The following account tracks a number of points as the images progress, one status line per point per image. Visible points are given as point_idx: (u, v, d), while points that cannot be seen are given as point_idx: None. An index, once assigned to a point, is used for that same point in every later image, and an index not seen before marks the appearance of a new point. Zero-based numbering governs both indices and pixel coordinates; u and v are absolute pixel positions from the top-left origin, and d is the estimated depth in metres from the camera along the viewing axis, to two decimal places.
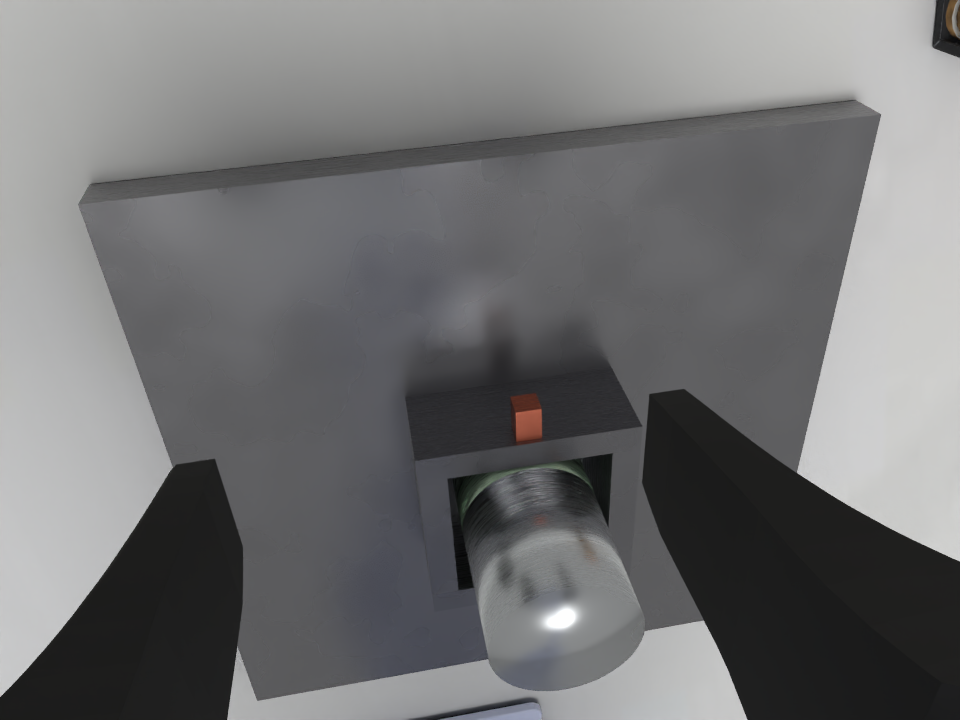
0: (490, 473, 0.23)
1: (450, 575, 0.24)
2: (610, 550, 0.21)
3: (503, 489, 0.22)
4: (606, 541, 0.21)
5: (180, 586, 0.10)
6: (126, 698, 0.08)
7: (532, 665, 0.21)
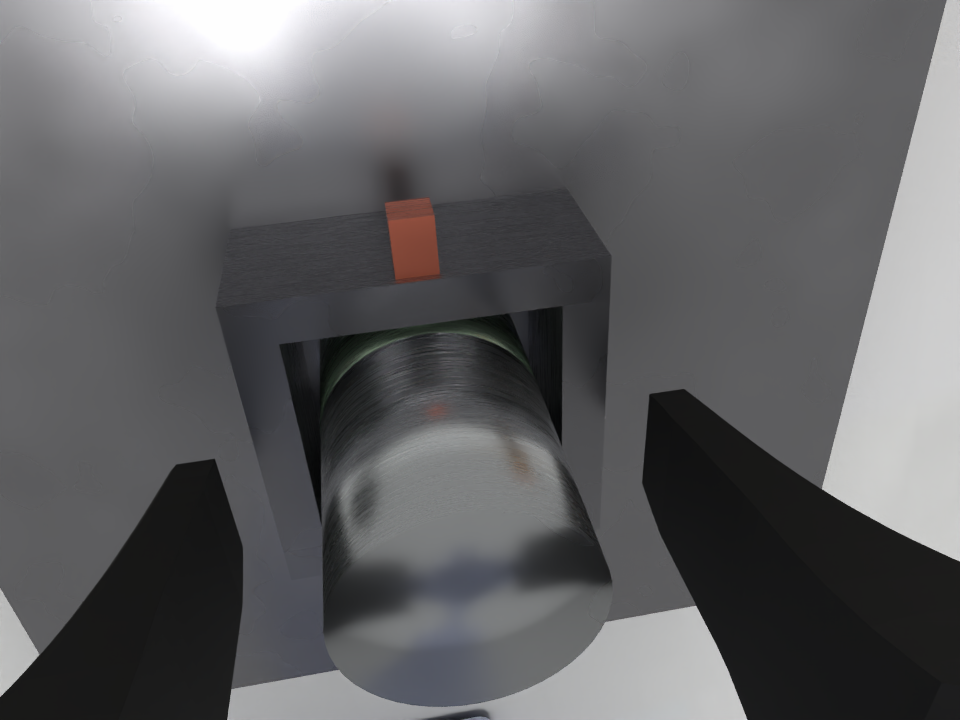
0: (362, 344, 0.14)
1: (309, 519, 0.15)
2: (552, 458, 0.12)
3: (377, 364, 0.13)
4: (547, 444, 0.12)
5: (180, 586, 0.10)
6: (126, 698, 0.08)
7: (411, 662, 0.11)
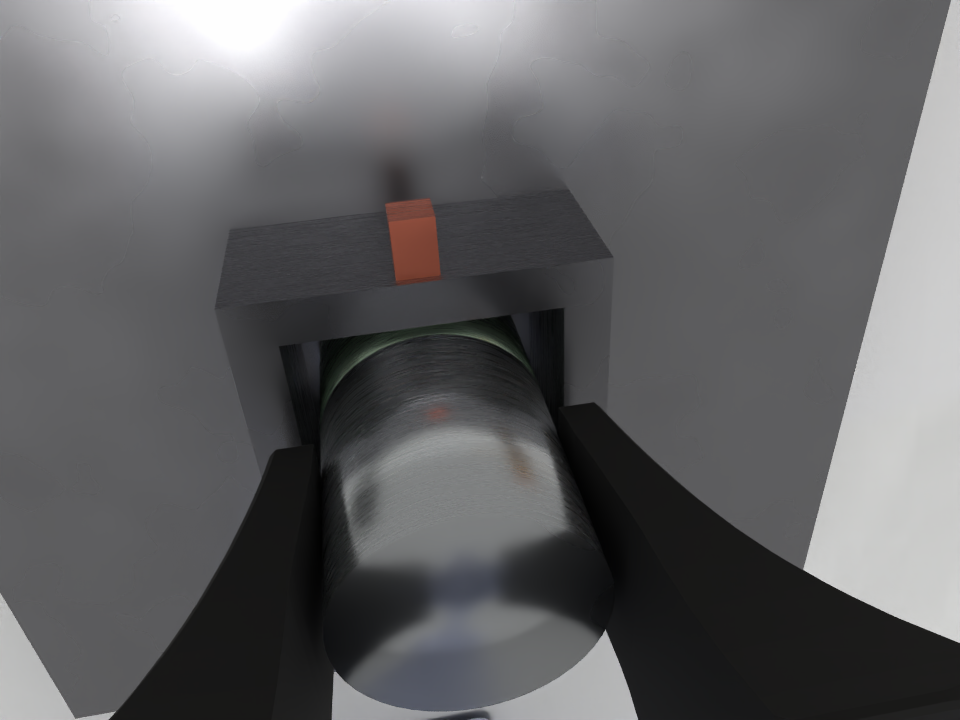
0: (362, 346, 0.14)
1: None
2: (554, 461, 0.12)
3: (377, 366, 0.13)
4: (549, 446, 0.12)
5: (300, 566, 0.11)
6: (279, 671, 0.08)
7: (412, 667, 0.11)
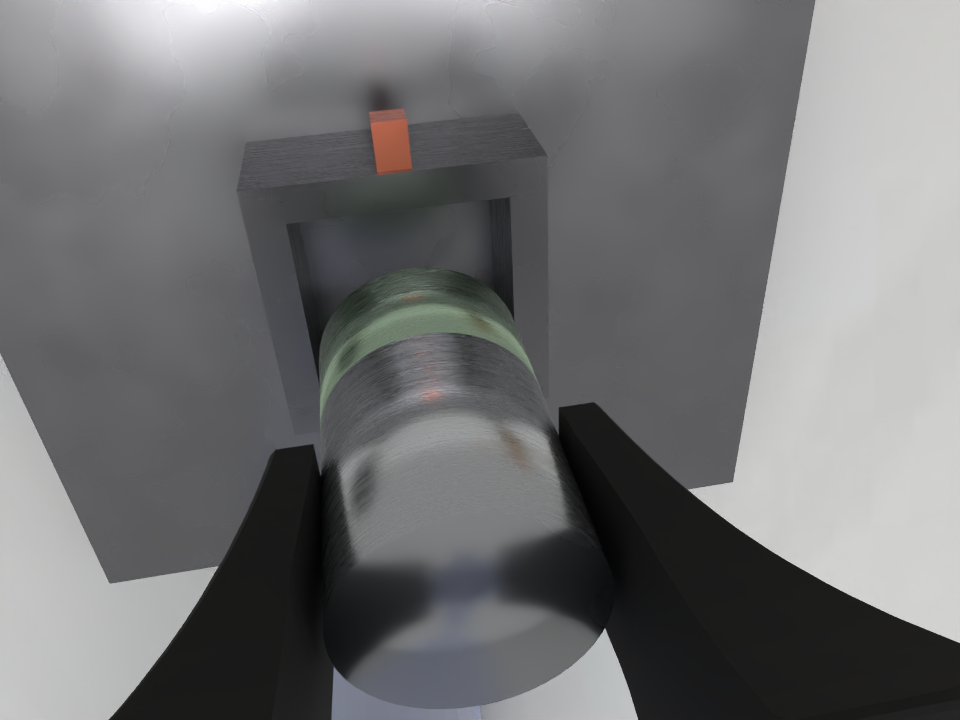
0: (362, 344, 0.14)
1: (309, 379, 0.19)
2: (554, 459, 0.12)
3: (377, 365, 0.13)
4: (549, 445, 0.12)
5: (300, 566, 0.11)
6: (278, 671, 0.08)
7: (412, 665, 0.11)
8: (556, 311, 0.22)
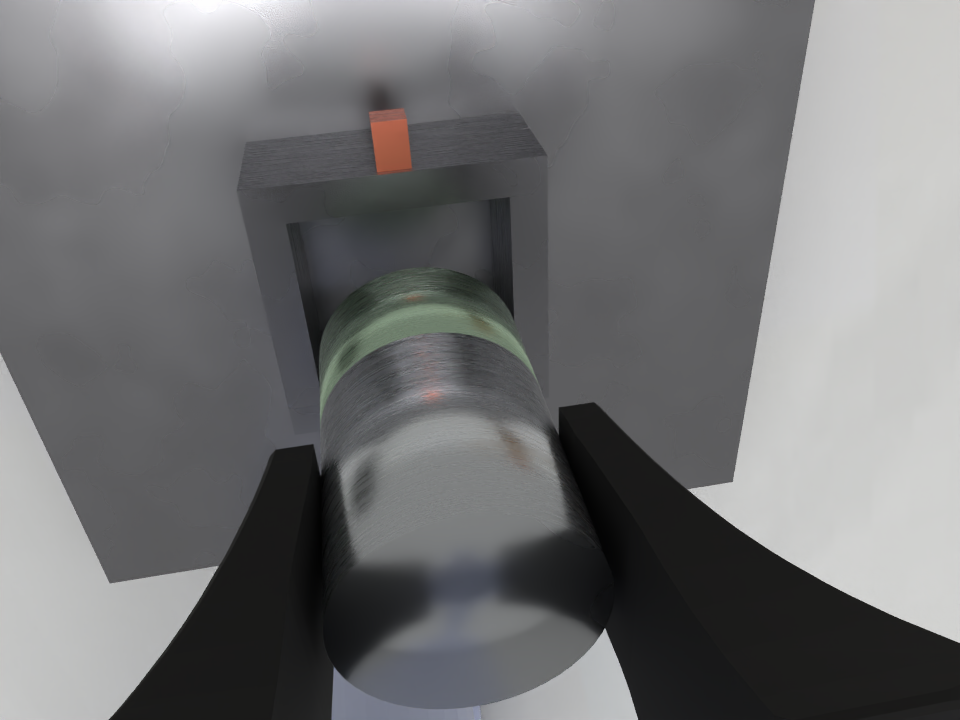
0: (362, 344, 0.14)
1: (309, 379, 0.19)
2: (554, 459, 0.12)
3: (377, 365, 0.13)
4: (549, 445, 0.12)
5: (300, 566, 0.11)
6: (278, 671, 0.08)
7: (412, 665, 0.11)
8: (556, 311, 0.22)
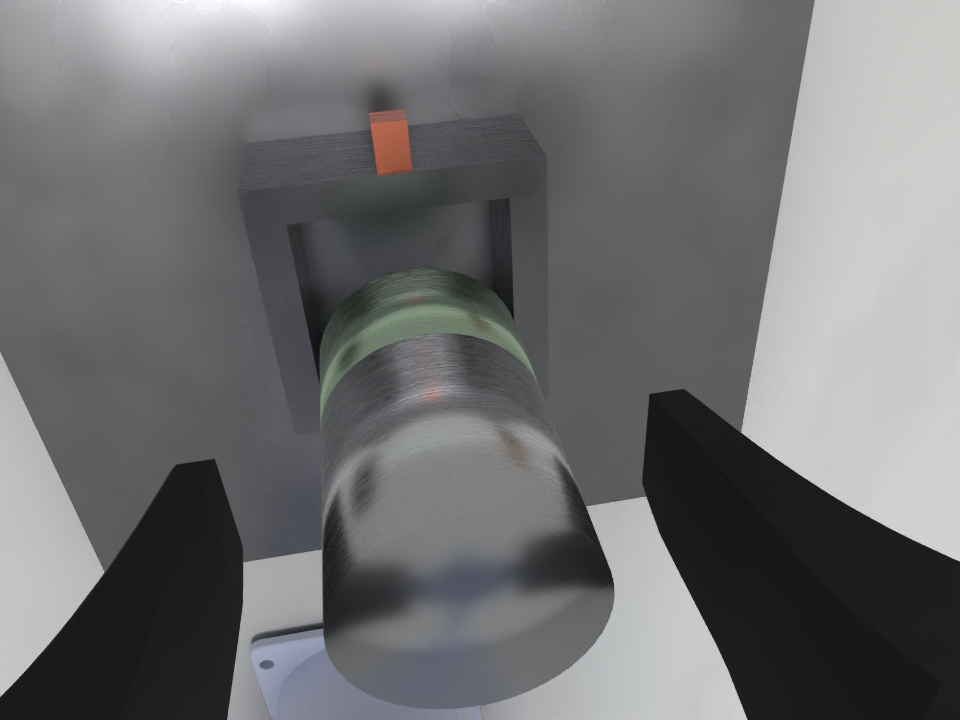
0: (362, 345, 0.14)
1: (309, 380, 0.19)
2: (553, 459, 0.12)
3: (377, 365, 0.13)
4: (549, 446, 0.12)
5: (180, 586, 0.10)
6: (126, 698, 0.08)
7: (412, 665, 0.11)
8: (556, 312, 0.22)
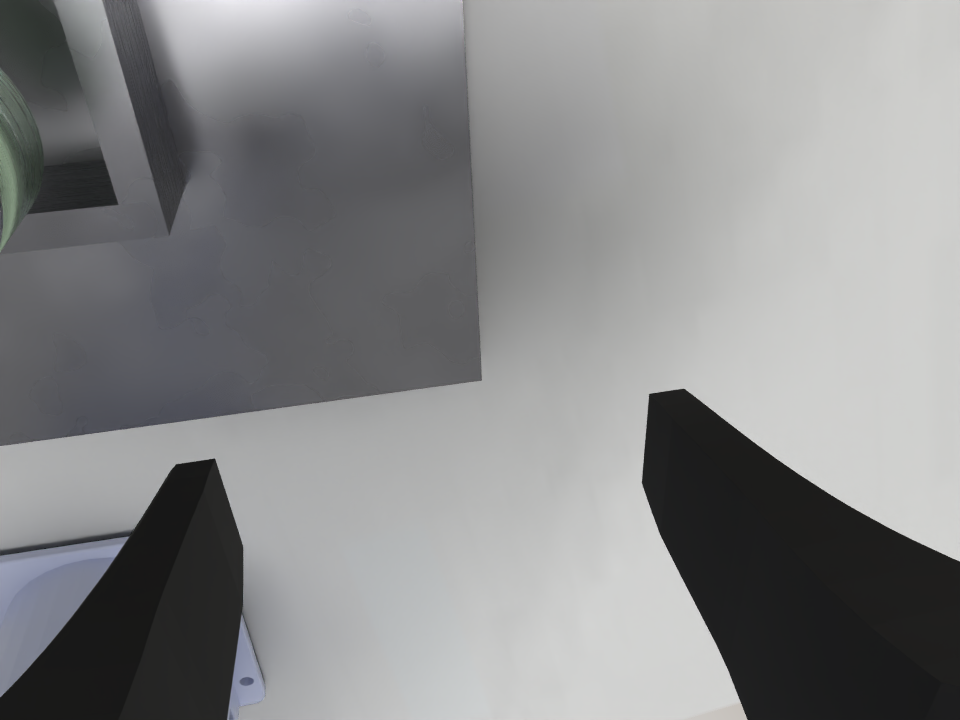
0: None
1: None
2: None
3: None
4: None
5: (180, 586, 0.10)
6: (126, 698, 0.08)
7: None
8: (217, 154, 0.19)
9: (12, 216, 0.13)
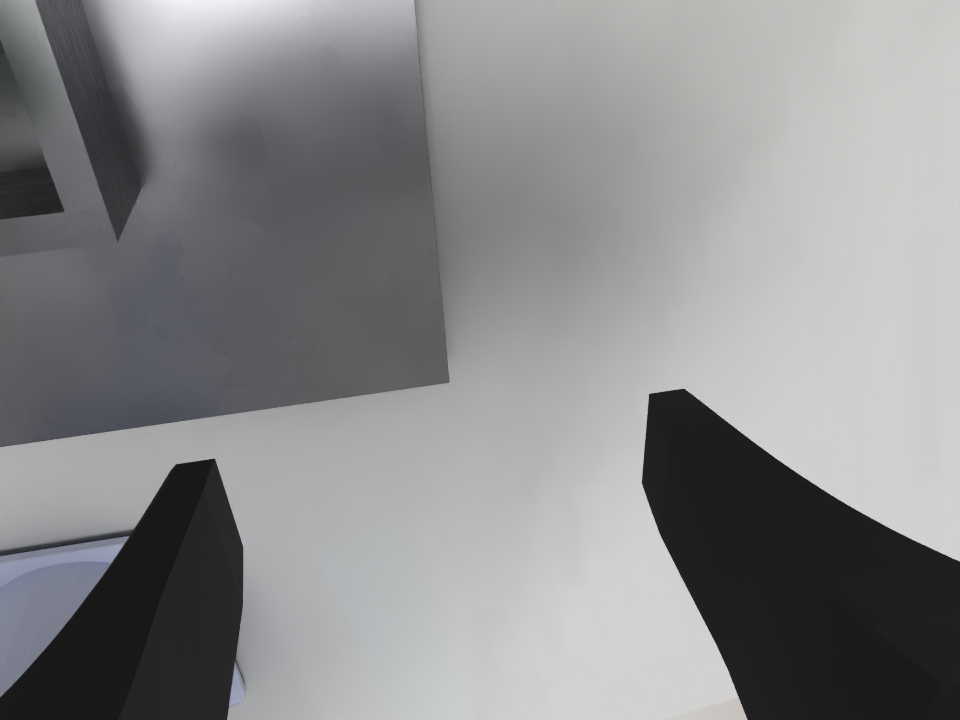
0: None
1: None
2: None
3: None
4: None
5: (180, 586, 0.10)
6: (126, 698, 0.08)
7: None
8: (171, 159, 0.19)
9: None
